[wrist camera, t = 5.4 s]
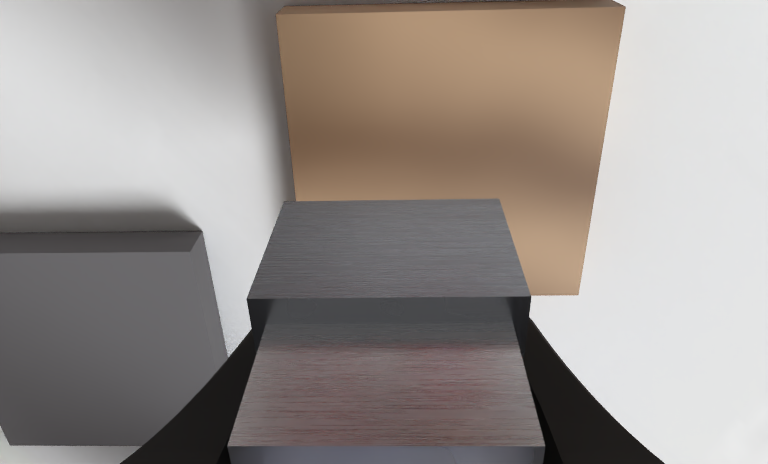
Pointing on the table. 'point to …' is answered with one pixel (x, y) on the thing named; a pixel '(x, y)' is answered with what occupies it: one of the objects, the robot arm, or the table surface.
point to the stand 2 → (458, 112)
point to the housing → (389, 338)
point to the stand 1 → (103, 334)
